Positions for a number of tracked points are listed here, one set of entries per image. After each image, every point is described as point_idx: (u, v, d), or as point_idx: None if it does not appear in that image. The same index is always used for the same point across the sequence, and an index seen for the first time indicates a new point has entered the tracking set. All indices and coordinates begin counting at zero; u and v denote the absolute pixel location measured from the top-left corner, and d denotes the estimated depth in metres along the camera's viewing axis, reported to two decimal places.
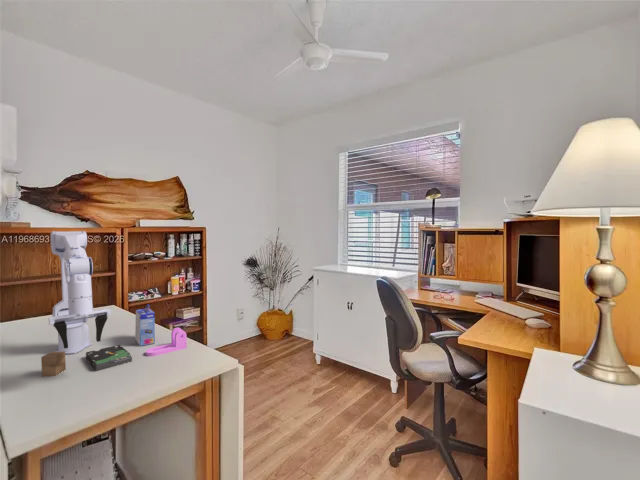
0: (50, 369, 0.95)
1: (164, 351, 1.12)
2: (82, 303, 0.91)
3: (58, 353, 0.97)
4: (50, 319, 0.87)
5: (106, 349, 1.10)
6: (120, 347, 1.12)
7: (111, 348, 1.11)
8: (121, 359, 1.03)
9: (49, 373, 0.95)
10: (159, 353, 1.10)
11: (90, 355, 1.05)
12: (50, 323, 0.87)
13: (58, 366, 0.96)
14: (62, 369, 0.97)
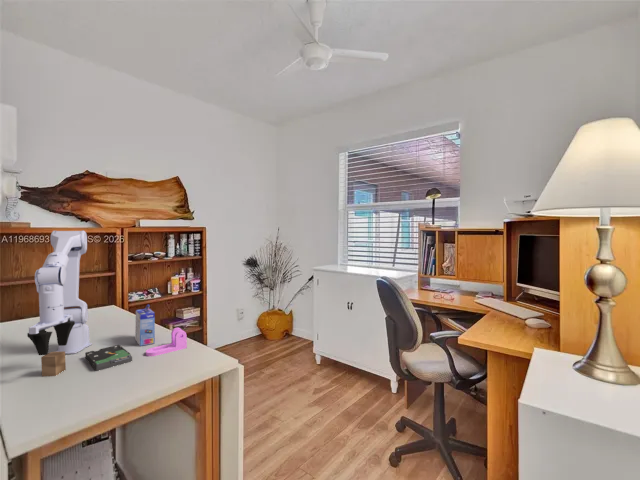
0: (50, 369, 0.95)
1: (164, 351, 1.12)
2: (61, 310, 0.96)
3: (58, 353, 0.97)
4: (36, 328, 0.89)
5: (106, 349, 1.10)
6: (120, 347, 1.12)
7: (111, 348, 1.11)
8: (121, 359, 1.03)
9: (49, 373, 0.95)
10: (159, 353, 1.10)
11: (90, 355, 1.05)
12: (36, 332, 0.89)
13: (58, 366, 0.96)
14: (62, 369, 0.97)
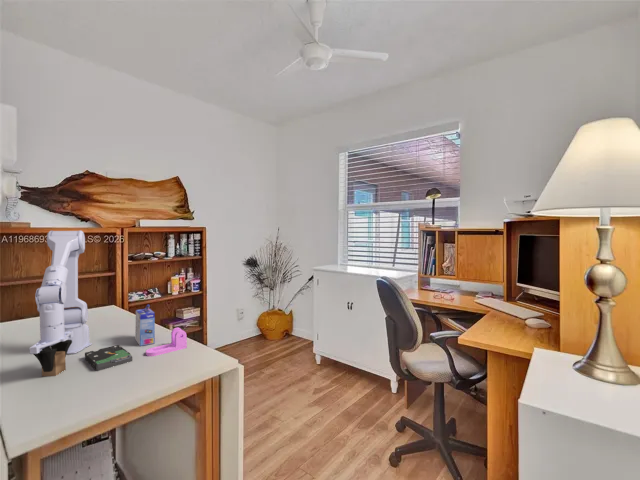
0: None
1: (164, 351, 1.12)
2: (62, 329, 0.96)
3: (58, 353, 0.97)
4: (37, 348, 0.89)
5: (105, 349, 1.10)
6: (119, 347, 1.12)
7: (110, 348, 1.11)
8: (122, 359, 1.03)
9: (49, 373, 0.95)
10: (159, 353, 1.10)
11: (89, 355, 1.05)
12: (37, 352, 0.89)
13: (58, 366, 0.96)
14: (62, 369, 0.97)
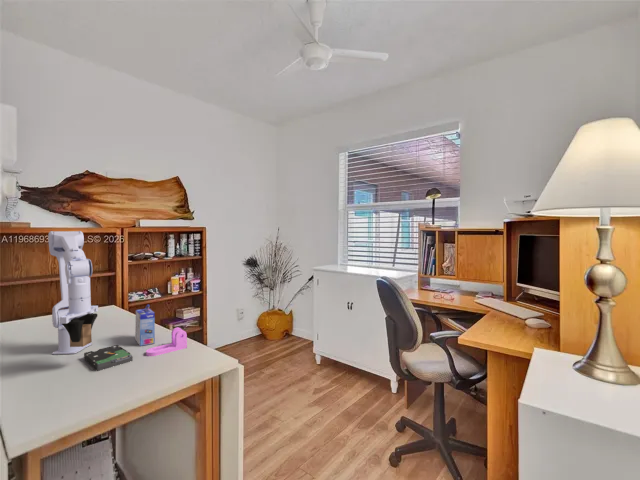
0: None
1: (164, 351, 1.12)
2: (89, 302, 1.01)
3: (85, 325, 1.01)
4: (67, 318, 0.94)
5: (104, 349, 1.10)
6: (118, 347, 1.12)
7: (109, 348, 1.11)
8: (122, 359, 1.03)
9: (77, 344, 0.99)
10: (159, 353, 1.11)
11: (89, 355, 1.05)
12: (67, 322, 0.94)
13: (85, 337, 1.00)
14: (88, 341, 1.02)
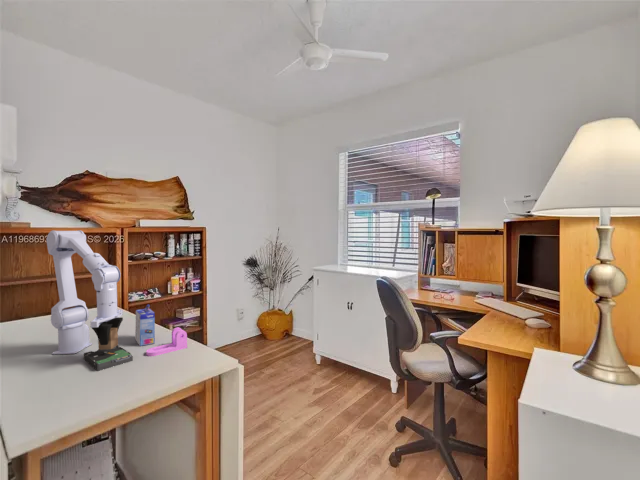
0: None
1: (164, 351, 1.12)
2: (116, 306, 1.06)
3: (112, 329, 1.07)
4: (97, 322, 0.99)
5: (104, 349, 1.10)
6: (118, 347, 1.12)
7: None
8: (122, 358, 1.03)
9: (105, 346, 1.04)
10: (159, 353, 1.11)
11: (89, 356, 1.04)
12: (97, 326, 0.99)
13: (112, 340, 1.05)
14: (115, 343, 1.07)
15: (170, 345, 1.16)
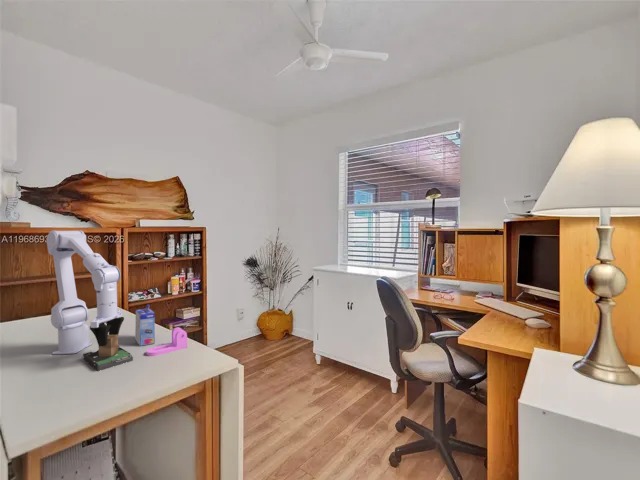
0: (106, 349, 1.04)
1: (165, 351, 1.12)
2: (116, 307, 1.06)
3: (112, 336, 1.07)
4: (97, 323, 0.99)
5: None
6: (118, 347, 1.12)
7: None
8: (122, 359, 1.03)
9: (105, 353, 1.04)
10: (160, 353, 1.11)
11: (89, 356, 1.04)
12: (97, 326, 0.99)
13: (113, 347, 1.05)
14: (115, 350, 1.07)
15: (170, 345, 1.16)
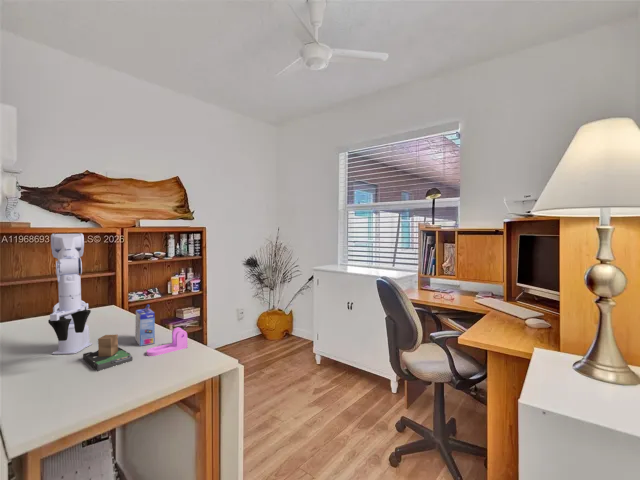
0: (106, 349, 1.04)
1: (165, 351, 1.12)
2: (79, 299, 1.02)
3: (112, 336, 1.07)
4: (57, 315, 0.95)
5: None
6: (118, 348, 1.12)
7: None
8: (122, 359, 1.03)
9: (105, 353, 1.04)
10: (160, 353, 1.11)
11: (88, 356, 1.04)
12: (57, 319, 0.95)
13: (112, 347, 1.06)
14: (115, 350, 1.07)
15: (170, 345, 1.16)
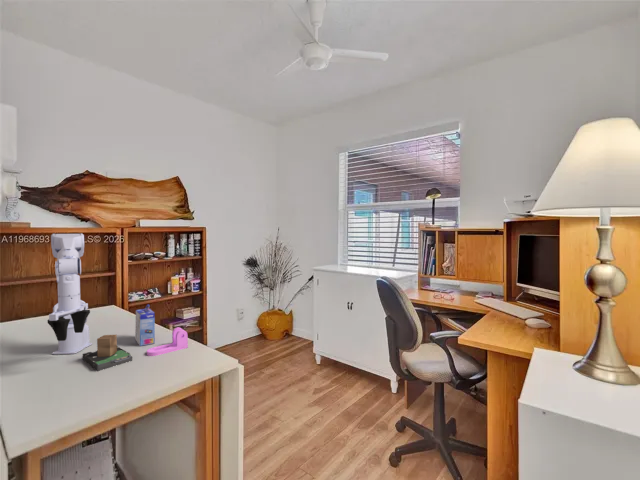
0: (105, 349, 1.04)
1: (165, 351, 1.12)
2: (78, 299, 1.02)
3: (111, 336, 1.07)
4: (56, 315, 0.95)
5: None
6: (117, 348, 1.12)
7: None
8: (122, 359, 1.03)
9: (104, 353, 1.04)
10: (160, 353, 1.11)
11: (88, 356, 1.04)
12: (56, 319, 0.95)
13: (112, 347, 1.05)
14: (114, 350, 1.07)
15: (171, 345, 1.16)
